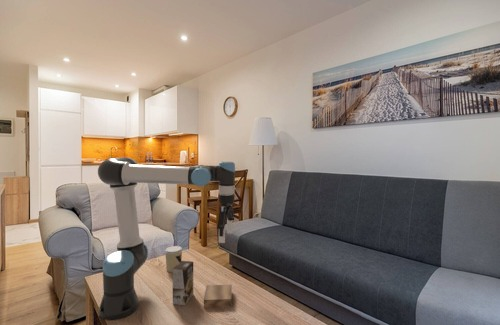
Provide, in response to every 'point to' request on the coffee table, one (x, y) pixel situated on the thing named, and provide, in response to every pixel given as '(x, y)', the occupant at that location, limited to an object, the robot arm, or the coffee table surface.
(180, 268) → the coffee box
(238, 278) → the coffee table surface
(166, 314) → the coffee table surface
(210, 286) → the walnut block
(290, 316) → the coffee table surface
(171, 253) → the coffee cup
